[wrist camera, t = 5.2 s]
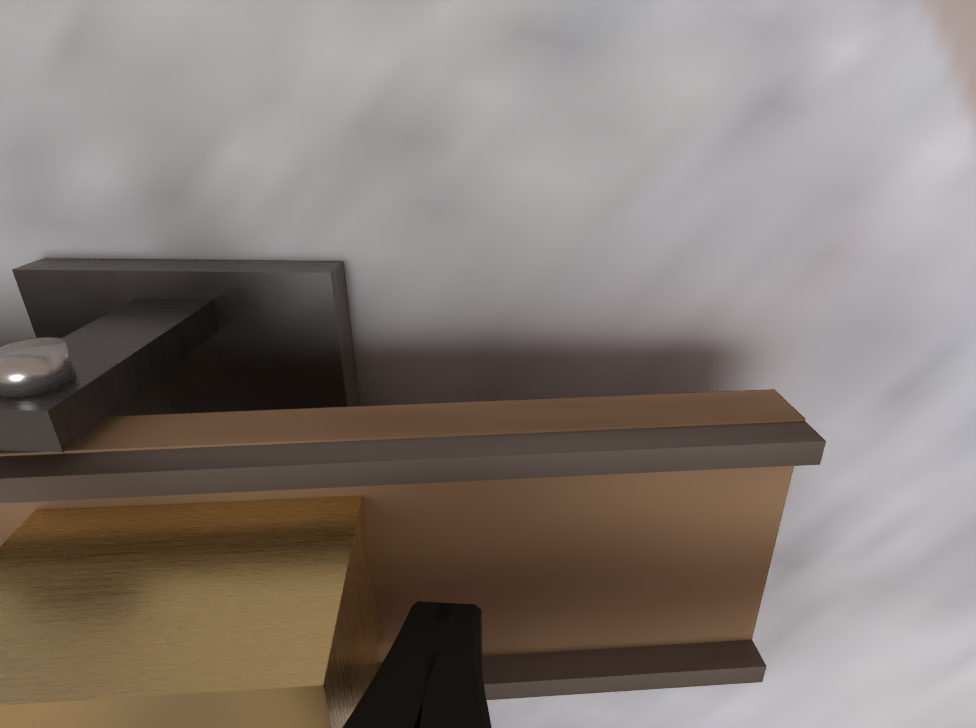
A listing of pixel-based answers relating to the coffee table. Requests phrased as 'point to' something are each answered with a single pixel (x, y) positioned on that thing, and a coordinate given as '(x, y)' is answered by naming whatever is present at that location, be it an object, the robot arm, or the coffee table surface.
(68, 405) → the grey metal bracket
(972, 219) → the coffee table surface
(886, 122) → the coffee table surface
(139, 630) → the rider
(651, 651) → the beam
